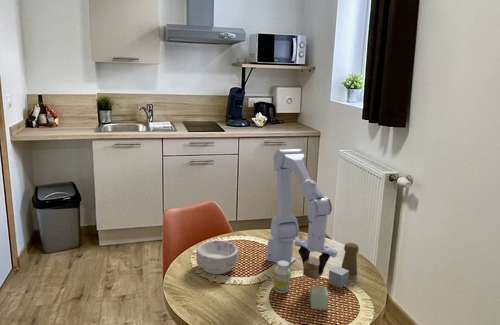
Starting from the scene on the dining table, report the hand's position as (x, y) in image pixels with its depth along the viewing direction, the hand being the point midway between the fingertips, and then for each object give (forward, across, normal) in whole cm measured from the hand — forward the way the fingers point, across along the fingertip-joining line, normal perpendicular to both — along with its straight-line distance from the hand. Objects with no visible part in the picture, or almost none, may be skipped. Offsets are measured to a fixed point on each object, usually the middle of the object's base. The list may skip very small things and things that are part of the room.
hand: (313, 270), depth 140 cm
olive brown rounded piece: (+7, +6, +20) cm, 22 cm away
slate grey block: (+7, +6, +9) cm, 13 cm away
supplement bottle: (+7, -8, -7) cm, 13 cm away
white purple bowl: (+7, -34, -9) cm, 36 cm away
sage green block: (+7, +6, -8) cm, 12 cm away
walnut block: (+2, 0, 0) cm, 2 cm away
